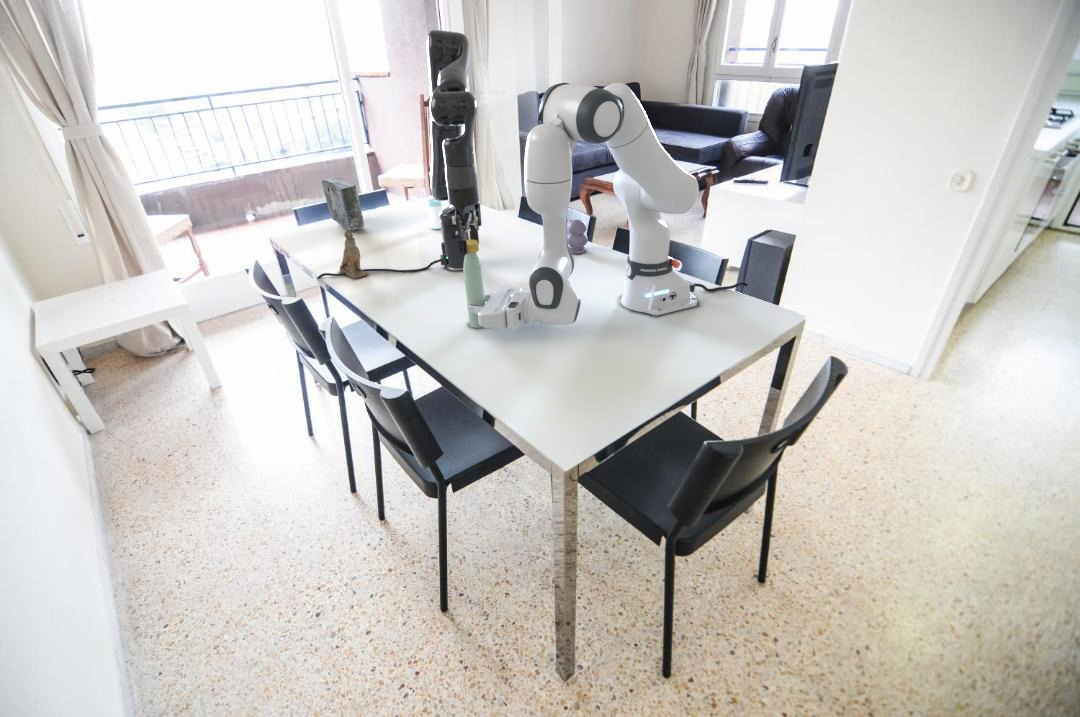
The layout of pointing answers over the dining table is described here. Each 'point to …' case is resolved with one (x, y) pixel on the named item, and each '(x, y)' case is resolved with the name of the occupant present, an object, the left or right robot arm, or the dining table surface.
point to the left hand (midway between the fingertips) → (469, 249)
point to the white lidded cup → (435, 213)
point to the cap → (472, 246)
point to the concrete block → (343, 202)
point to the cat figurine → (577, 236)
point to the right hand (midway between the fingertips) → (473, 303)
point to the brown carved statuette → (351, 258)
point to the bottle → (473, 285)
